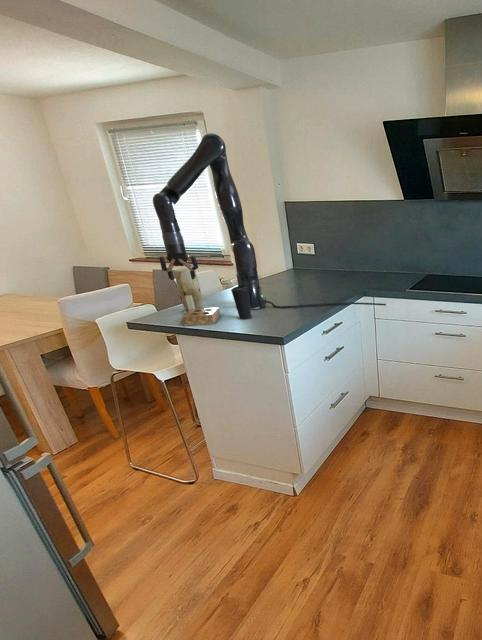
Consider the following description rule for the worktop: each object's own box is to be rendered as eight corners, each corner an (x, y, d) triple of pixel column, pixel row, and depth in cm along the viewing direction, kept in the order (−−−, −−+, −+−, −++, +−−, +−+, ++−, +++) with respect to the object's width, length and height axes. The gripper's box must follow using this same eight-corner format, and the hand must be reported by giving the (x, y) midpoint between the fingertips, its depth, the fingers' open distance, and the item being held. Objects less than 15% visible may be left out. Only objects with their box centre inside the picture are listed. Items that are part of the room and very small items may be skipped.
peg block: (220, 315, 178) (218, 307, 177) (214, 323, 167) (212, 314, 166) (192, 317, 176) (190, 309, 174) (184, 325, 165) (181, 316, 163)
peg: (196, 313, 181) (191, 295, 177) (195, 315, 179) (190, 296, 175) (191, 314, 181) (186, 295, 177) (190, 315, 179) (185, 296, 175)
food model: (206, 306, 192) (197, 266, 183) (203, 310, 186) (193, 269, 178) (184, 308, 189) (174, 267, 181) (181, 312, 183) (170, 270, 175)
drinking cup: (237, 321, 171) (228, 276, 162) (235, 316, 177) (226, 273, 168) (255, 318, 174) (247, 274, 166) (253, 314, 180) (245, 271, 172)
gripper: (152, 244, 162) (162, 282, 168) (189, 243, 165) (197, 280, 171) (159, 241, 169) (168, 278, 175) (194, 241, 171) (202, 277, 178)
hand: (183, 279), depth 173 cm, fingers open, 8 cm apart
